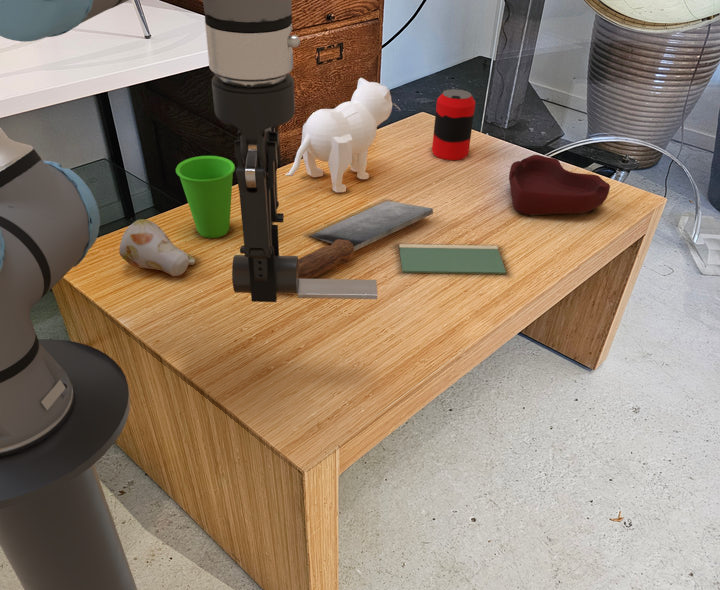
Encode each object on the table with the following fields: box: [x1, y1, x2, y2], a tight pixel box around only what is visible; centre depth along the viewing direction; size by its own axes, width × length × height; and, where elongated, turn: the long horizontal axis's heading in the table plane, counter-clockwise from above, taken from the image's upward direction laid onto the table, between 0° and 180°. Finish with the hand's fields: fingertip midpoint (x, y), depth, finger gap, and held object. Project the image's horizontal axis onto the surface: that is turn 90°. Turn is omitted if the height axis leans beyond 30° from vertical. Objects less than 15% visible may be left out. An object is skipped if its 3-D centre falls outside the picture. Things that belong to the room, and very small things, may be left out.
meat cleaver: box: [298, 200, 434, 279], centre depth 106 cm, size 34×11×4 cm, turn 136°
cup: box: [175, 155, 236, 239], centre depth 105 cm, size 9×9×11 cm
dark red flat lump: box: [508, 154, 611, 217], centre depth 119 cm, size 18×16×5 cm
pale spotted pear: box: [118, 218, 196, 277], centre depth 98 cm, size 8×10×10 cm
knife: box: [231, 254, 378, 300], centre depth 74 cm, size 16×4×4 cm, turn 91°
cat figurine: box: [284, 77, 400, 193], centre depth 120 cm, size 25×10×17 cm, turn 131°
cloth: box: [398, 243, 507, 275], centre depth 104 cm, size 16×8×1 cm, turn 91°
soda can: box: [431, 88, 476, 161], centre depth 133 cm, size 8×8×12 cm
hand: (266, 287), depth 75 cm, fingers closed on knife, 4 cm apart
